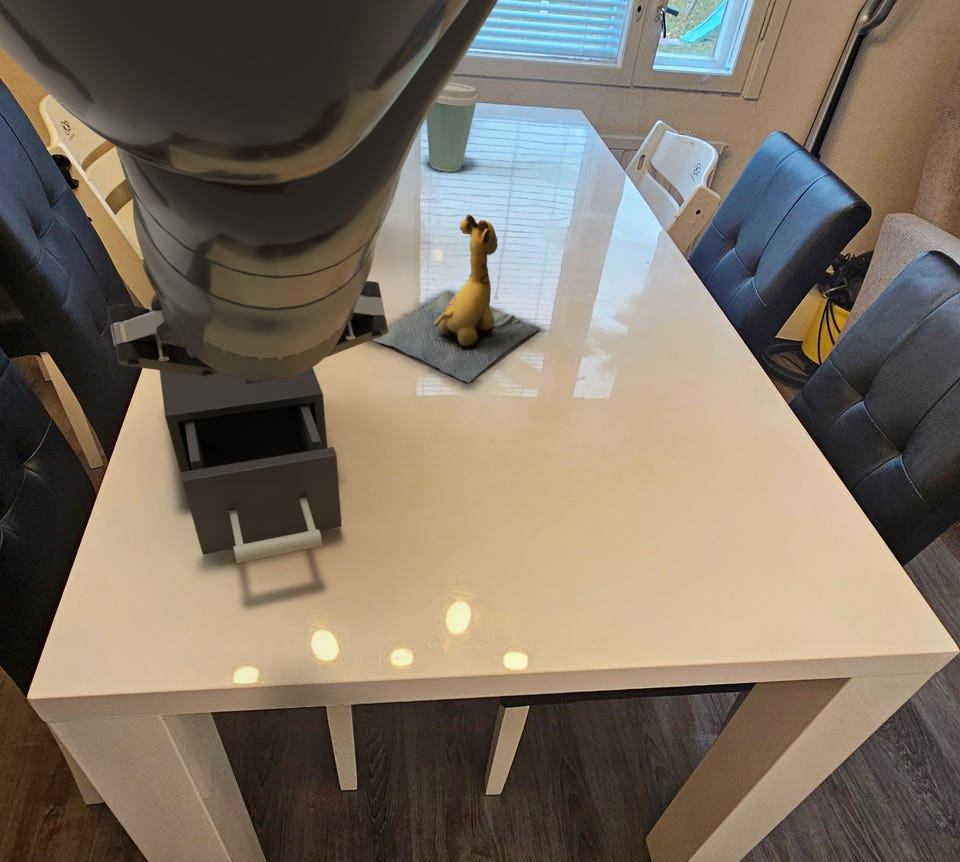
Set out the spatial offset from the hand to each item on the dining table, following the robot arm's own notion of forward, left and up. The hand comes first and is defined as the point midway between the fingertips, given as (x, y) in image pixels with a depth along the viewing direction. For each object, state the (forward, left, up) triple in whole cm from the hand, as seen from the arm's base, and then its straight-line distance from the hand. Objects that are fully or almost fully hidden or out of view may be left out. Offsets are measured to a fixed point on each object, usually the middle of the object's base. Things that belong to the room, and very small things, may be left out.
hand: (254, 365), depth 41 cm
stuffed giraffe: (+30, +43, -26) cm, 59 cm away
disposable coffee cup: (+51, +107, -26) cm, 121 cm away
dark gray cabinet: (0, +26, -26) cm, 37 cm away
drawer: (0, +14, -25) cm, 29 cm away
